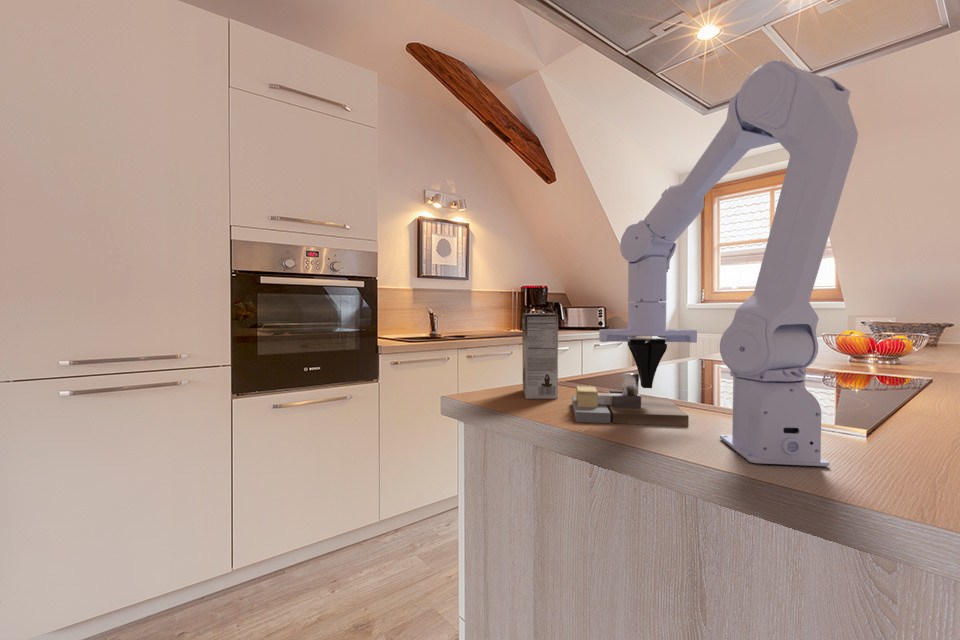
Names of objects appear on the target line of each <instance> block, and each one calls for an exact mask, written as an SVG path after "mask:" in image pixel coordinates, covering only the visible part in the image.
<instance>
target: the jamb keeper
mask: <svg viewBox="0 0 960 640" xmlns="http://www.w3.org/2000/svg"><path fill="white" fill-rule="evenodd" d="M575 385H576V386H575V387H576V391H575V392H576V393H575V395H572V396H571V398H572V404H571V405H572V409H573V414H574V418H575V422H576V423H594V424H595V423H596V424H598V423H599V424H611V418H610V411H609V410H608V408H607V406H606V405H598V393H599V391H598V390H597V388H596V386H595V385H582V384H580V385H579V384H578V385H577V384H575Z"/></svg>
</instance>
